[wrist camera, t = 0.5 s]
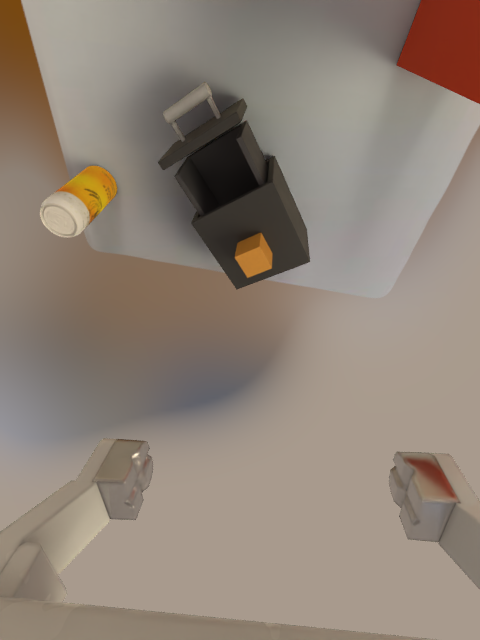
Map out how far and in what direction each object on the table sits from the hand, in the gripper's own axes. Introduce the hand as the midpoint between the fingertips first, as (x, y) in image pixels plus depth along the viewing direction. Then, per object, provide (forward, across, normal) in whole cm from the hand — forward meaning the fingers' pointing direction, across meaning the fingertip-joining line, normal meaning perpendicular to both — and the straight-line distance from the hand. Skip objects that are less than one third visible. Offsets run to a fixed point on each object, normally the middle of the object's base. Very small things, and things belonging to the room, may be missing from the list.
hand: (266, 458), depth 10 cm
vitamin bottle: (+52, +30, -7) cm, 60 cm away
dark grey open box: (+52, +2, -1) cm, 52 cm away
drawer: (+48, +8, -11) cm, 50 cm away
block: (+42, +2, +3) cm, 43 cm away
